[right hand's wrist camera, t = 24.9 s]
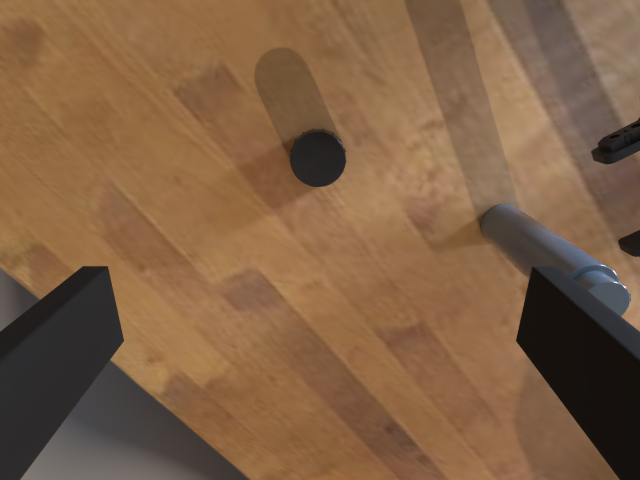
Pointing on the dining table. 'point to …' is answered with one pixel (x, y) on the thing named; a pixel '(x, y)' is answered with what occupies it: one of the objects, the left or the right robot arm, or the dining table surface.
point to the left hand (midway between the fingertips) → (612, 206)
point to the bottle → (550, 254)
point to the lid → (318, 158)
